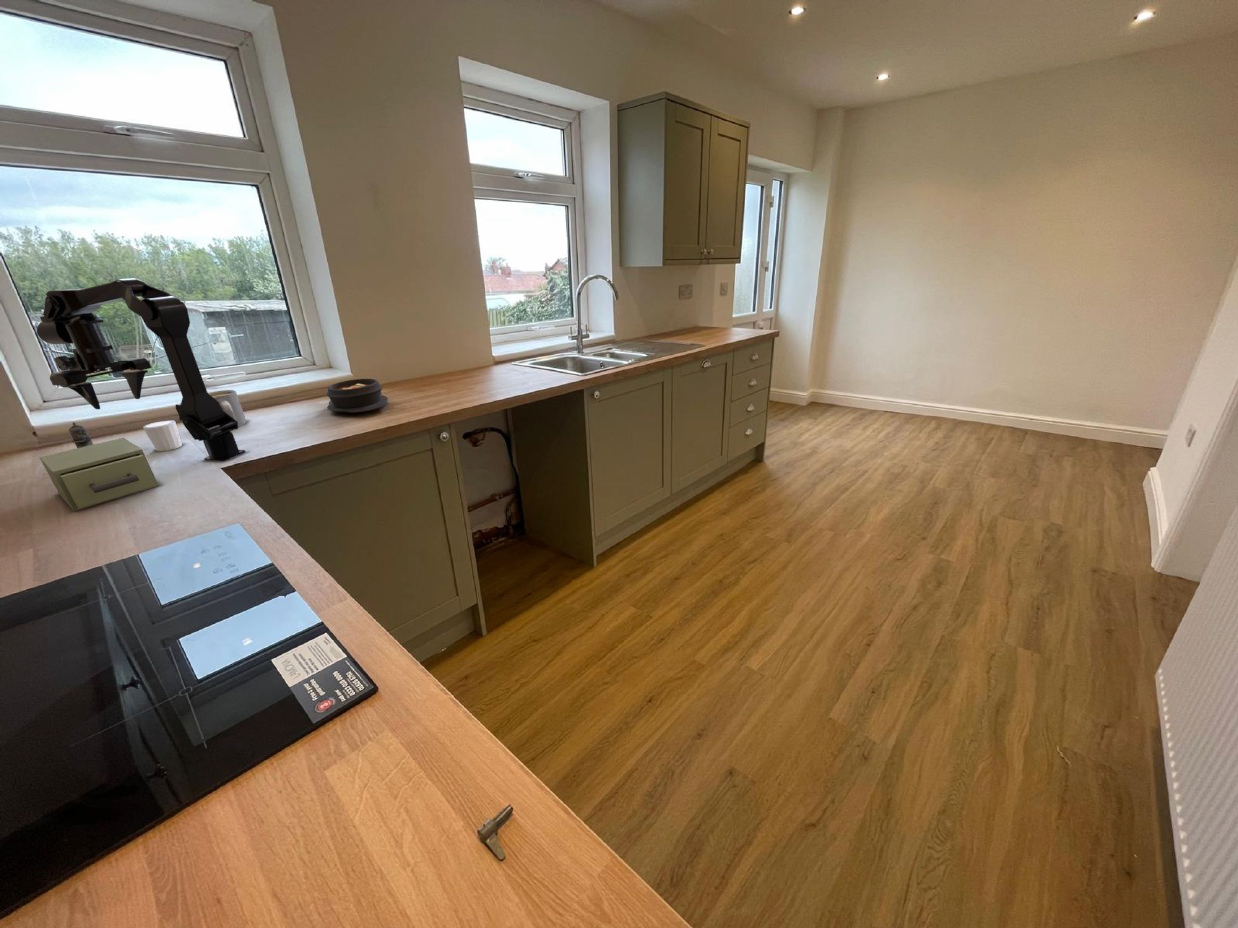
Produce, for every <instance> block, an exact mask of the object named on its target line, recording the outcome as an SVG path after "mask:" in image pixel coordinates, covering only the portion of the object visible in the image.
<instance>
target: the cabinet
mask: <svg viewBox="0 0 1238 928" xmlns="http://www.w3.org/2000/svg"><path fill="white" fill-rule="evenodd" d="M93 444H94V445H89V446H85V447H81V448H77V447H76V448H73V449H68V450H64V451H60V452H56V453H52V454H48V455H43V456H39V460H40V462H41V463H42V466H43V467H44V469H45V470H46V472H47V475H48V476H49V478H50V480H51V482H52V484H53V485H54V487H55V489H56V491H57V493H58V494H59V496H60V497H61V498H62V499H63V500H64V502H65V503H66V504H67V505H68V506H69V507H70V509H72V511H73V512H76V511H81V510H83V509H86V508H90V507H93V506H97V505H100V504H103V503H106V502H109V501H113V500H116V499H120V498H123V497H127V496H129V495H133V494H137V493H140V492H143V491H146V490H150V489H153V488H156V487H159V482H158V481H157V478H156V476H155V474H154V472H153V470H152V467H151V466H150V463H149V461H148V459H147V457H146V455H145V452H144V450H143V448H141V447H139V446H138V445H136V444H135V443H133V442H131V441H130V440H128V439H127V438H125V437H120V438H116V439H111V440H106V441H103V442H98V443H93ZM132 455H136V456H139V455H143V456H144V458H145V460H146V463H147V465H148V467H149V469H150V471H151V474H152V476H153V478H154V480H155V482H156V484H157V486H153V487H150V488H147V489H143V490H140V491H137V492H133V493H130V494H127V495H123V496H120V497H116V498H113V499H110V500H106V501H103V502H100V503H96V504H93V505H90V506H86V507H83V508H80V509H78V508H77V506H76V504H75V502H74V501H73V499H72V497H71V495H70V493H69V491H68V489H67V488H66V486H65V484H64V482H63V480H62V478H61V474H62V473H66V472H70V471H74V470H77V469H81V468H85V467H89V466H93V465H97V464H101V463H105V462H109V461H112V460H116V459H120V458H124V457H128V456H132Z"/></svg>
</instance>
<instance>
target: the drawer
mask: <svg viewBox="0 0 1238 928" xmlns="http://www.w3.org/2000/svg"><path fill="white" fill-rule="evenodd" d="M61 478H62V480H63V482H64V484H65V486H66V488H67V489H68V491H69V493H70V495H71V497H72V499H73V501H74V502H75V504H76V506H77V508H78V509H80V508H83V507H86V506H90V505H93V504H96V503H100V502H103V501H106V500H110V499H113V498H116V497H120V496H123V495H127V494H130V493H133V492H137V491H140V490H143V489H147V488H150V487H153V486H157V484H156V482H155V480H154V478H153V476H152V474H151V471H150V469H149V467H148V465H147V463H146V460H145V458H144V456H143V455H139V456H136V455H132V456H128V457H124V458H120V459H116V460H112V461H109V462H105V463H101V464H97V465H93V466H89V467H85V468H81V469H77V470H74V471H70V472H66V473H62V474H61ZM157 487H158V486H157ZM153 488H154V487H153ZM150 489H151V488H150ZM147 490H148V489H147ZM143 491H144V490H143ZM140 492H141V491H140ZM137 493H138V492H137ZM133 494H134V493H133ZM130 495H131V494H130ZM127 496H128V495H127ZM123 497H124V496H123ZM120 498H121V497H120ZM113 500H114V499H113ZM110 501H111V500H110ZM103 503H104V502H103ZM100 504H101V503H100ZM90 507H91V506H90ZM80 510H81V509H80Z"/></svg>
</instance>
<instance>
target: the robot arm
mask: <svg viewBox="0 0 1238 928" xmlns="http://www.w3.org/2000/svg"><path fill="white" fill-rule="evenodd" d="M139 297H141V298H142V299H140V298H139ZM123 300H124V302H125V304H126V306H127V308H128V310H130V311H131V312H133V313H135V314H136V315H138V316H139V317H141V319H142V321H143V323H144V324H145V326H146V328H147V329H149V330H150V331H151V332H152V333H153V334H154V335H155V336H157V337H158V338H159V340H160V342H161V344H162V347H163V350H164V353H165V355H166V357H167V360H168V362H169V365H170V368H171V370H172V373H173V376H174V378H175V382H176V383H177V386H178V388H179V391H180V394H181V396H182V398H181V402H180V403H177V404H175V410H176V412H177V414H178V417H179V421H181V422H182V425H183V426H184V427H185V429H186V430H187V432H188V433H189V434H190V435H191V437H192V438H193V440H196V441H198V442H202V441H203V445H204V447H205V449H206V452H207V454H208V456H205V457H204V458H203V459H204V461H211V462H212V461H213V462H226V461H228V460H230V459H233V458H235V457H237V456H240V455H242V454H245V453H246V449H239V447H238V444H237V442H236V438H235V436H234V434H233V431H235V430H238V429H239V426H238V422H237V421H236V420H235V419H233V418H232V417H231V416H230V415H228V414H227V413H226V412H224V411H223V409H222V407H221V406H220V404H219V402H218V401H217V400H216V399H215V398H213V397H212V396H211V395H209V394H208V393H209V392H208V390H207V387H206V384H205V381H204V379H203V376H202V374H201V370H200V368H199V365H198V363H197V360H196V357H195V354H194V352H193V348H192V347H191V344H190V341H189V337H188V332H189V328H190V324H191V321H190V315H189V311H188V308H187V306H186V304H185V303H184V301H181V300H180V299H179V298H178V297H175V296H173V295H172V294H170V293H169V292H168V291H165V290H163V289H160V288H157V287H154V286H151V285H149V284H148V283H146V282H145V281H143V280H141V279H138V278H120V279H119V278H117V279H115V280H113V281H110V282H107V283H103V284H99V285H94V286H90V287H86V288H67V289H66V288H65V289H53V290H51V289H50V290H49V291H47V292H46V293H45V299H44V308H43V312H42V315H41V316H39V319H40V320H41V321H40V322H39V323H38V325H37V326H36V334H37V336H38V337H39V339H40V340H42V341H43V342H44V343H47V344H50V345H70V344H71V345H73V346H74V348H72V349H71V350H72V354H73V356H67V355H60V356H56V357H54V362H55V364H56V366H57V368H58V369H59V370H60V371H55V372H52V373H50V375H49V380H50V382H51V384H52V386H60V387H61V388H64V389H65V388H68V389H70V390H72V391H74V392H76V393H77V394H78V395H79V396H80V397H82V399H84V400H85V401H86V402H87V403H89V405H91V407H93V408H94V409H95V410H101V405H100V401H99V399H98V396H97V393H96V391H95V389H94V387H93V383H92V382H87V381H88V379H89V378H95V377H100V376H104V375H109V374H115V373H118V372H119V373H120V374H121V376H122V377H123V378H125V381H126V382H127V384H128V387H129V389H130V391H131V394H132V395H133V398H134V399H135V400H140V399H141V394H142V387H143V382H144V379H145V376H146V373H147V374H148V373H149V369H152V368H153V367H152V364H151V362H150V361H149V360H148V359H147V358H145V357H130V358H126V359H125V358H124V359H119V360H117V361H115V359H114V356H113V354H112V352H111V350H114V348H113V345H112V344H108V343H107V341H106V339H105V336H104V334H103V332H102V330H101V327H100V325H99V324H100V323H104V319H103V318H101V317H100V316H97V315H96V314H94V312H96V311H98V310H99V309H101V306H102V305H105V304H110V303H115V302H118V301H119V302H120V301H123ZM218 425H219V427H217V428H214V429H211V430H209V429H210V428H213V427H215V426H218Z"/></svg>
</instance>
